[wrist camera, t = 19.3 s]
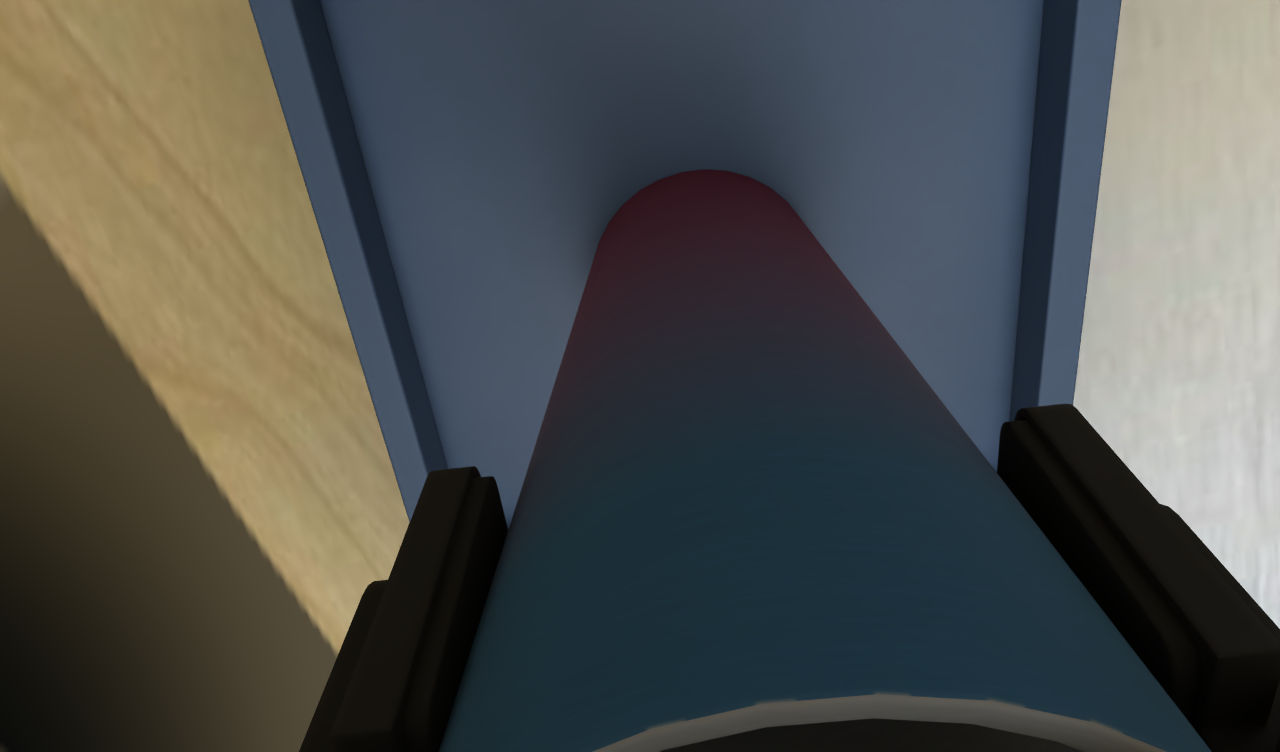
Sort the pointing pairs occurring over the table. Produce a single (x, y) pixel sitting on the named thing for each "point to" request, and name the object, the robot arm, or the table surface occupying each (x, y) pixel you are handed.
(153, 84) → the table surface
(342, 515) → the table surface
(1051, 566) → the cup
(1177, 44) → the table surface
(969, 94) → the tray
